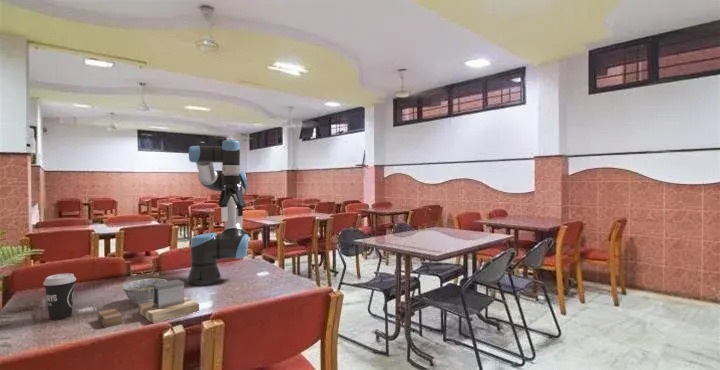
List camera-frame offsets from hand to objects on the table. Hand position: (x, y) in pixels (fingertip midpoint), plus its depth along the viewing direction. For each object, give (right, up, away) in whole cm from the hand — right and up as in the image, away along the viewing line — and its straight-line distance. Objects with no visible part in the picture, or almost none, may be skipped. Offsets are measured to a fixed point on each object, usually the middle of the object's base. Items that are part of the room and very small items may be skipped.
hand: (231, 222), depth 170 cm
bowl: (-31, -31, -14) cm, 46 cm away
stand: (-31, -32, -36) cm, 57 cm away
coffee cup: (-52, -32, -31) cm, 68 cm away
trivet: (-15, -31, -27) cm, 44 cm away
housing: (-15, -28, -27) cm, 42 cm away
